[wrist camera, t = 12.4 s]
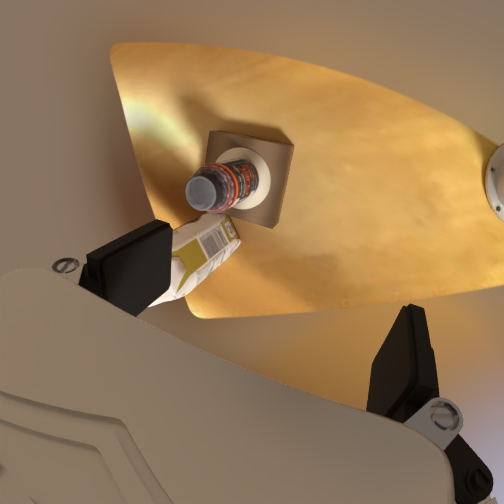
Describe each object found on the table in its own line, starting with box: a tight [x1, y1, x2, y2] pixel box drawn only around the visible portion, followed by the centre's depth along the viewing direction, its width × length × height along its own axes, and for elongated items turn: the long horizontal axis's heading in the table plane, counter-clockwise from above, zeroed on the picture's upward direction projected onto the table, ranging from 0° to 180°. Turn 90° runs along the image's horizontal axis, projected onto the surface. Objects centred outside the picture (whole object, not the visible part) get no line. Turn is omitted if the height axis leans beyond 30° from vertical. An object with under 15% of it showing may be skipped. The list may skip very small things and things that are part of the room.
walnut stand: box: [205, 131, 294, 229], centre depth 44 cm, size 12×12×3 cm
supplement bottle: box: [185, 158, 259, 213], centre depth 37 cm, size 6×6×11 cm
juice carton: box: [148, 212, 241, 307], centre depth 43 cm, size 8×9×19 cm
